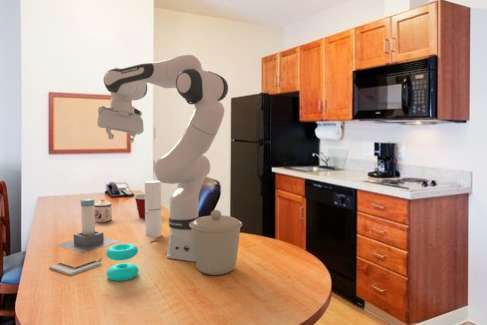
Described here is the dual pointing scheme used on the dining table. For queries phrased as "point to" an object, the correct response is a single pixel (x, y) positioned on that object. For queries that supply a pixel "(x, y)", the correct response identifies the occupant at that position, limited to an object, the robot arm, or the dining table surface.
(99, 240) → the grey square peg base
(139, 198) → the plastic cup
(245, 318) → the dining table surface
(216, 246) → the canister
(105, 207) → the teacup with lid
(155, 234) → the cylindrical container
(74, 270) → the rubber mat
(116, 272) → the donuts
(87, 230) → the cylinder
